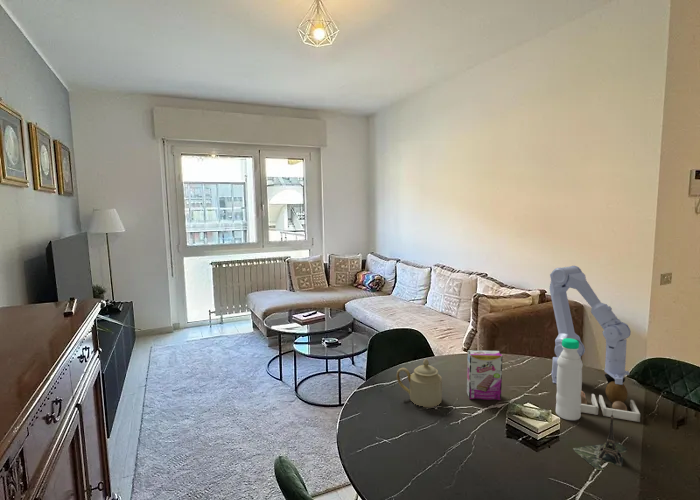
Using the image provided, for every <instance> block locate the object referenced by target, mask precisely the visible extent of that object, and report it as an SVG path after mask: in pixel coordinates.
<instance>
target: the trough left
mask: <svg viewBox="0 0 700 500" xmlns="http://www.w3.org/2000/svg"><path fill="white" fill-rule="evenodd" d="M590 399H591V401H590V402H591V404H587V405H586V404H581V406H580V408H581V413H585V414H590V415H595V416H596V415H598V416H599V404H598V400H597V399H596V395H595V394H594V393H591V398H590Z"/></svg>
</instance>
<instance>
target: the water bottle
mask: <svg viewBox="0 0 700 500" xmlns="http://www.w3.org/2000/svg"><path fill="white" fill-rule="evenodd" d="M562 347H563V351H562V352H561V354H560V356H559V357H558V360H557V364H558V368H557V383H556V395H555V399H556V401H555V403H556V404H555V414H556V415H557V416H558V417H560V418H561V419H564V420H566V421H578V420H579V419H580V418H581V413H582V412H581V408H580V406H581V390H582V386H583V366H584V364H583V361H582V358H581V359H580V356H579V354H578V352H577V350H578V348H579V342H578V341H577V340H575V339H571V338H565V339H563V340H562Z"/></svg>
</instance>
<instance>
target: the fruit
mask: <svg viewBox="0 0 700 500" xmlns="http://www.w3.org/2000/svg"><path fill="white" fill-rule="evenodd" d="M628 394H629V393H628V390H627V388H626V385H624V383H623V385H620V384H615V381H612V382H610V383H609V384H608V383H607V385H606V387H605V395H606V398H607V400H608V401H609V402H610V403H612V404H613V403H614V402H615V401H621V402H623V403H624V404H625V402H626V401H627V399H628V396H629V395H628Z"/></svg>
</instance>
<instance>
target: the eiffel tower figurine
mask: <svg viewBox="0 0 700 500" xmlns="http://www.w3.org/2000/svg"><path fill="white" fill-rule="evenodd" d="M606 438H607V440H606V442H604V443H599V444H591V445H585V446H584V445H583V446H577V447H573V448H572V450H573V451H574V452H575V453H576V454H577V455H578V456H579V457H580V458H582V459H583V460H585V462H587V463H588V464H589V465H590V466H592V467H593V468H594V469H596V470H597V471H604V470H605V469H604V468H603V466H602V465H601V462H605V463H608V464H610V465H611V464H612V465H616V466H617V467H618V466H619V467H622V468H623V464H624V455H622V454H623V453H626V452H627V450H628V448H627V447H625V446H624V445H623V444H622V443H620V442H616V441H615V438H614V418H613V415H611V417H610V425H609V432H608V436H607V437H606Z"/></svg>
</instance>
